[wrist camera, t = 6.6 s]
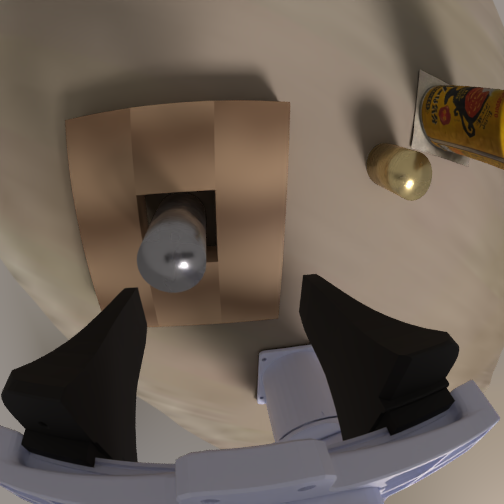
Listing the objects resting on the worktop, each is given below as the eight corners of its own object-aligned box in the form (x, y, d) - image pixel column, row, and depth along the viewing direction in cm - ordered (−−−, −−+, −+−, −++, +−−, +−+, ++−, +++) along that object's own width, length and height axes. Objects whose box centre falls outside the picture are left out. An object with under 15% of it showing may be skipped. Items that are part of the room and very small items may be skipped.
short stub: (398, 186, 22) (427, 201, 18) (364, 184, 21) (391, 199, 18) (403, 145, 20) (434, 154, 17) (368, 140, 20) (398, 148, 16)
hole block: (271, 300, 25) (278, 318, 23) (113, 309, 23) (107, 327, 21) (279, 103, 18) (290, 102, 16) (80, 118, 16) (65, 120, 14)
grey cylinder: (209, 234, 21) (211, 287, 15) (162, 242, 21) (147, 296, 15) (201, 188, 20) (199, 224, 14) (152, 196, 19) (128, 236, 13)
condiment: (418, 69, 17) (535, 73, 7) (475, 100, 19) (571, 122, 8) (409, 147, 20) (525, 190, 10) (466, 166, 22) (559, 209, 11)
